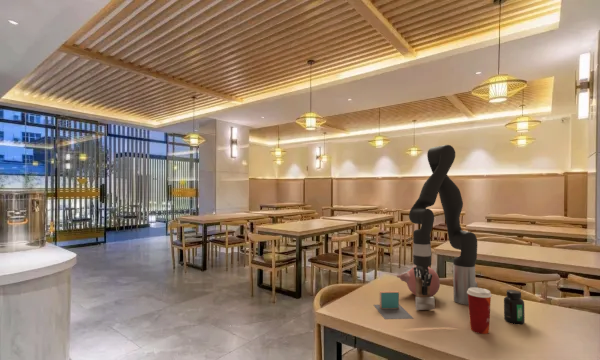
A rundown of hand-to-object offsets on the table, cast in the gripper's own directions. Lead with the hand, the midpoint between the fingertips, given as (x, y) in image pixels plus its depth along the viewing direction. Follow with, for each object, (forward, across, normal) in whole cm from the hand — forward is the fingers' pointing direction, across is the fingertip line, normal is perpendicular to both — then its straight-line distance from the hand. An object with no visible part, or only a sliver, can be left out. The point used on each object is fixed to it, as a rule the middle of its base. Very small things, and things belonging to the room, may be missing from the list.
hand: (422, 293), depth 139 cm
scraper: (+6, 0, 0) cm, 6 cm away
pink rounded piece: (+8, +18, -6) cm, 20 cm away
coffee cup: (+8, -20, -12) cm, 25 cm away
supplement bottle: (+8, -13, -32) cm, 35 cm away
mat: (+7, -2, +14) cm, 16 cm away
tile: (+7, +2, +14) cm, 16 cm away
